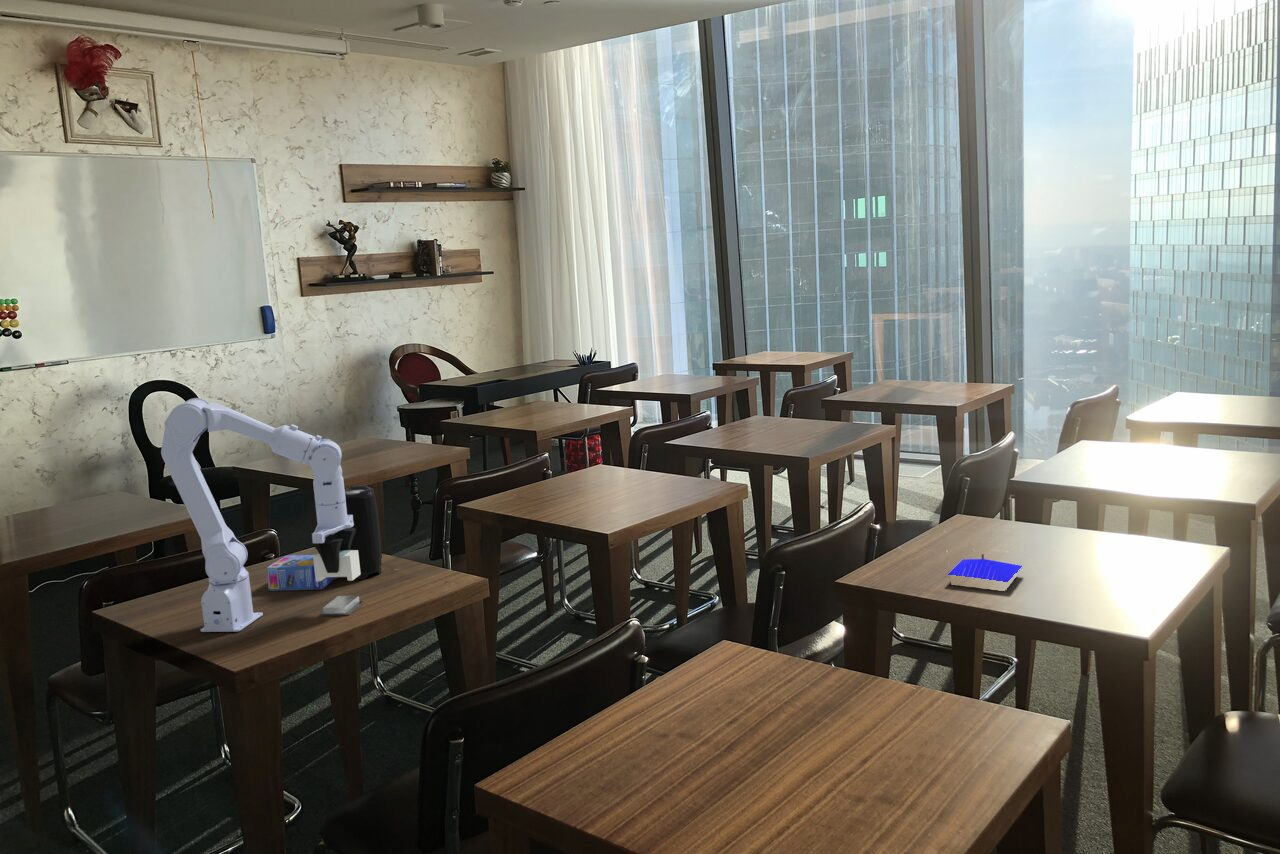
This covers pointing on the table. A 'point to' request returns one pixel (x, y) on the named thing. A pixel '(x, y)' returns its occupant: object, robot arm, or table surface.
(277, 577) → the ink cartridge box
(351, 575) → the rail module
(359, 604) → the grey base plate
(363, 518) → the portable speaker
